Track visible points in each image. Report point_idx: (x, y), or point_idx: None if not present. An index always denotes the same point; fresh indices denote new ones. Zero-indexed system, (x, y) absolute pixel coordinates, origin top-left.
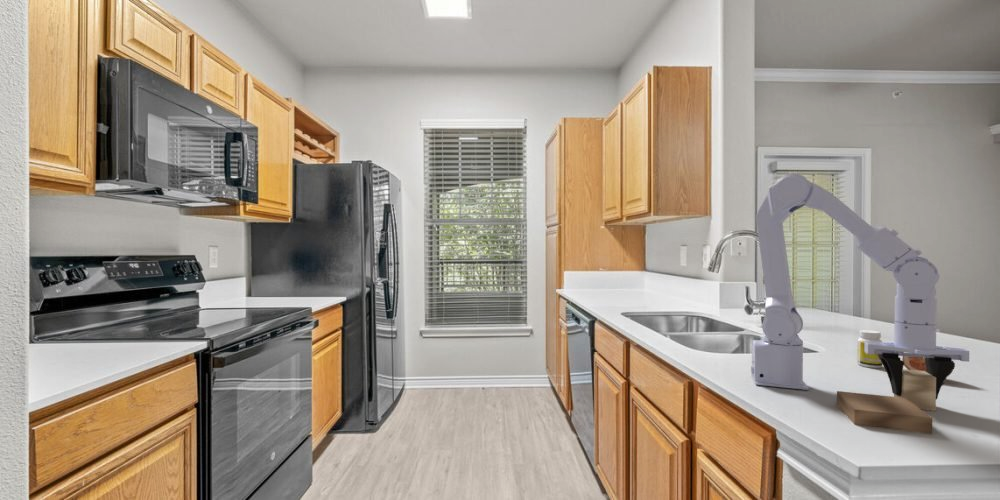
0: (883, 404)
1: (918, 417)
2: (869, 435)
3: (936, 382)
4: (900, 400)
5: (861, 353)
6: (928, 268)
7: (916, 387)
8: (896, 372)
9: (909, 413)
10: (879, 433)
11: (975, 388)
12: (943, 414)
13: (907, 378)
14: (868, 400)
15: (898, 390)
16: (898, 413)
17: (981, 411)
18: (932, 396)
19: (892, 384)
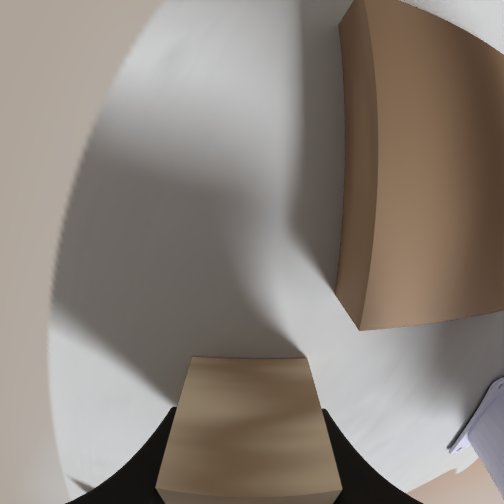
0: (496, 156)
1: (408, 8)
2: (485, 21)
3: (157, 467)
4: (411, 263)
5: None
6: None
7: (266, 435)
8: (376, 492)
9: (437, 37)
10: (472, 29)
11: (83, 485)
12: (176, 323)
13: (319, 473)
14: None
15: (329, 423)
16: (469, 38)
17: (66, 381)
18: (193, 402)
19: None
